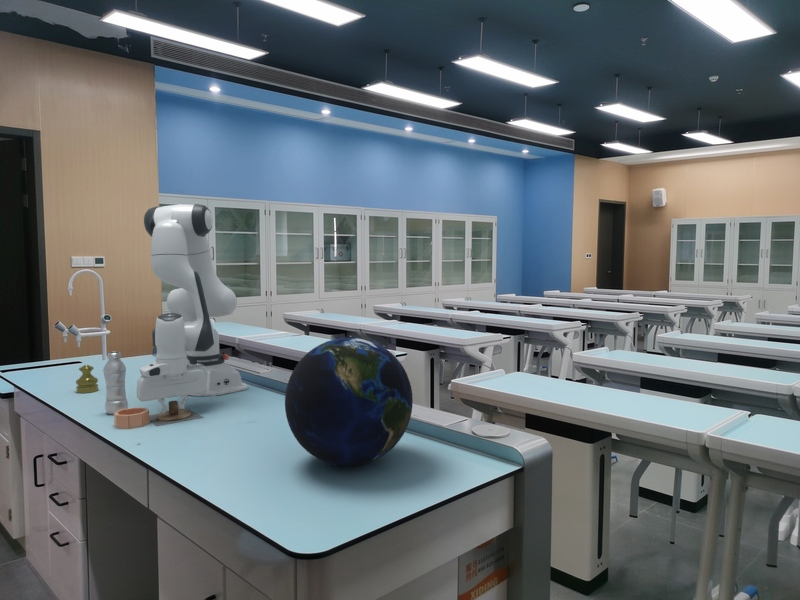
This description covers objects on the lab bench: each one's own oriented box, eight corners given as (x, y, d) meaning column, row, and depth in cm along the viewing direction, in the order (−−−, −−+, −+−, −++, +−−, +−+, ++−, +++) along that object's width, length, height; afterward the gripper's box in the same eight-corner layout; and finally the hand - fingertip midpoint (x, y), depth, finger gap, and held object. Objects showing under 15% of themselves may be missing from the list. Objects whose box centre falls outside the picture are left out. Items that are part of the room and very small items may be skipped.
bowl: (144, 420, 176) (143, 405, 176) (152, 426, 169) (151, 411, 169) (112, 425, 170) (111, 411, 170) (119, 432, 163) (118, 417, 163)
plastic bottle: (133, 412, 185) (130, 351, 183) (114, 418, 179) (111, 354, 177) (119, 410, 187) (116, 350, 186) (100, 415, 181) (97, 353, 180)
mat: (189, 410, 187) (189, 408, 187) (204, 419, 176) (204, 417, 176) (144, 418, 178) (144, 416, 178) (156, 428, 167) (156, 426, 167)
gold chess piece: (86, 394, 212) (84, 367, 211) (71, 392, 215) (70, 366, 214) (103, 389, 219) (101, 364, 218) (88, 388, 221) (87, 362, 221)
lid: (184, 410, 184) (184, 395, 184) (195, 417, 176) (195, 401, 176) (152, 416, 178) (151, 401, 177) (162, 423, 170) (161, 407, 170)
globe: (304, 496, 118) (300, 352, 115) (275, 452, 145) (271, 334, 143) (435, 473, 129) (433, 341, 127) (385, 436, 157) (383, 327, 155)
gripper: (202, 361, 185) (203, 403, 186) (134, 369, 172) (136, 414, 173) (209, 363, 180) (210, 407, 181) (139, 372, 167) (141, 418, 168)
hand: (173, 410), depth 177 cm, fingers open, 3 cm apart
